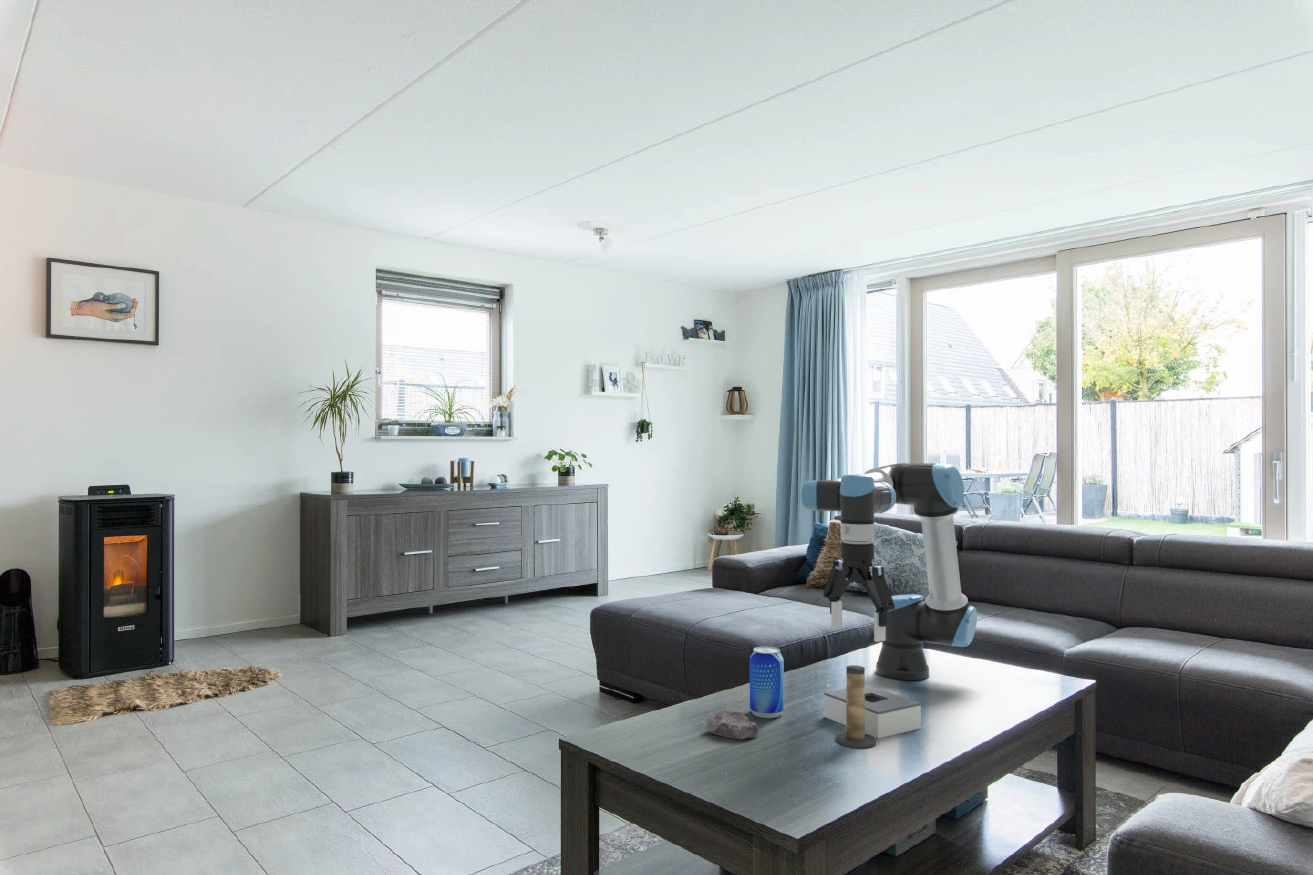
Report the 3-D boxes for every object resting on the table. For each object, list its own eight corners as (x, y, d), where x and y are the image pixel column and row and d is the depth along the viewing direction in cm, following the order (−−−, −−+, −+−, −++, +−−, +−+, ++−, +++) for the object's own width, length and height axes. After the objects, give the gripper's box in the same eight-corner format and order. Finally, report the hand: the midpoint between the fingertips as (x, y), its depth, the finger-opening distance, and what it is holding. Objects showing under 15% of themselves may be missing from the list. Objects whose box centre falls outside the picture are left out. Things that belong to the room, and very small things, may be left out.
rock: (747, 744, 184) (747, 723, 184) (702, 734, 190) (702, 714, 190) (762, 734, 191) (763, 714, 191) (719, 725, 197) (719, 706, 197)
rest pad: (827, 738, 187) (827, 736, 187) (856, 732, 192) (856, 729, 192) (855, 751, 180) (855, 748, 180) (885, 744, 184) (885, 741, 184)
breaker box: (824, 716, 204) (824, 692, 204) (865, 708, 211) (865, 684, 211) (878, 738, 188) (878, 711, 188) (920, 728, 195) (920, 702, 195)
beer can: (787, 711, 208) (787, 647, 208) (777, 720, 200) (778, 654, 200) (755, 706, 211) (755, 644, 212) (745, 716, 204) (745, 651, 204)
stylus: (842, 737, 187) (842, 666, 187) (855, 734, 189) (855, 664, 189) (855, 742, 183) (855, 670, 184) (868, 739, 185) (868, 668, 186)
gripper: (808, 537, 197) (808, 626, 197) (886, 548, 176) (887, 648, 175) (831, 536, 201) (831, 623, 201) (911, 546, 179) (911, 643, 179)
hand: (857, 635), depth 188 cm, fingers open, 13 cm apart
